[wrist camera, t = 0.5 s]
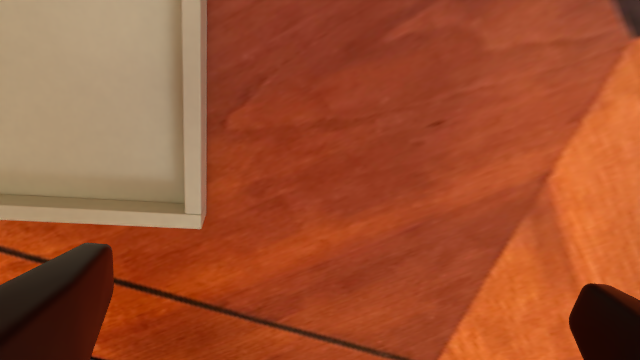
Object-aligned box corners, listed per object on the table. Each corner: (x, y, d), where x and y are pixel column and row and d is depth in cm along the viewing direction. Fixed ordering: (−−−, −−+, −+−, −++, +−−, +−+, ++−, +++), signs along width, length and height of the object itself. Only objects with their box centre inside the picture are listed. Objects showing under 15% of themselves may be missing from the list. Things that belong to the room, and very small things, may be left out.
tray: (206, 213, 24) (201, 229, 23) (-53, 201, 23) (-77, 216, 21) (207, -137, 18) (200, -148, 17) (-139, -181, 17) (-181, -198, 16)
